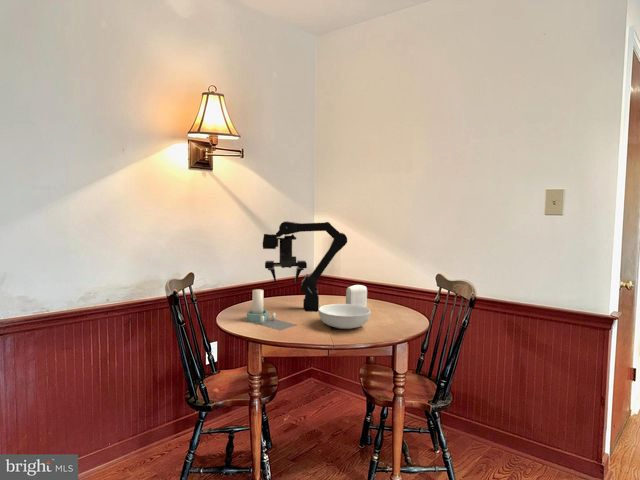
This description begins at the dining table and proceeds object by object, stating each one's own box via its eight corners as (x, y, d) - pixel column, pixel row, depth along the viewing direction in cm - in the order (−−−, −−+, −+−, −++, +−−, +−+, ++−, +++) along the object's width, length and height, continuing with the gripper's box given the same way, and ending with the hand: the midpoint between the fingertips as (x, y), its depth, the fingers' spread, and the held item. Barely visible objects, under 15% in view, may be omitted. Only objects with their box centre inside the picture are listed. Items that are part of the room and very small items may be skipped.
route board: (297, 326, 176) (297, 317, 175) (280, 331, 168) (280, 322, 167) (257, 315, 190) (257, 307, 189) (239, 320, 182) (239, 312, 182)
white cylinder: (265, 318, 184) (265, 289, 183) (260, 321, 180) (260, 291, 179) (255, 317, 185) (255, 289, 184) (250, 319, 181) (250, 290, 180)
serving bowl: (380, 329, 174) (381, 312, 173) (335, 336, 164) (335, 318, 163) (351, 316, 192) (351, 301, 191) (308, 322, 182) (309, 306, 181)
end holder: (268, 316, 187) (268, 309, 187) (267, 322, 178) (267, 314, 178) (248, 316, 186) (248, 309, 186) (246, 322, 178) (246, 314, 178)
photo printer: (361, 309, 205) (362, 283, 204) (367, 311, 201) (368, 284, 200) (344, 312, 199) (344, 285, 198) (349, 314, 195) (350, 286, 194)
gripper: (265, 251, 191) (264, 287, 193) (308, 251, 193) (307, 286, 195) (265, 248, 202) (265, 282, 204) (305, 248, 204) (305, 281, 206)
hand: (285, 283), depth 202 cm, fingers open, 9 cm apart
